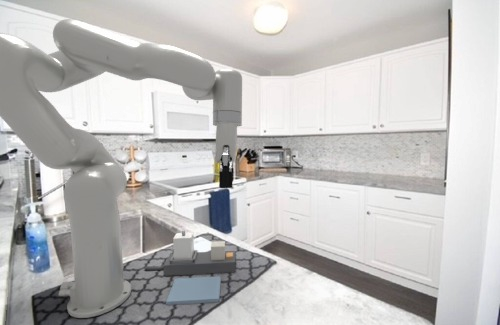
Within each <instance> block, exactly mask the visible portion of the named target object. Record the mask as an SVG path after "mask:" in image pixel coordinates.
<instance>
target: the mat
mask: <svg viewBox="0 0 500 325" xmlns="http://www.w3.org/2000/svg"><path fill="white" fill-rule="evenodd" d="M221 283H222V275H220V276H219V275H218V276H201V277H199V276H198V277H181V278H175V279H174V282H173V284H172V287H171V289H170V292H169V294H168V296H167V299H166V302H165V306H173V305H188V304H191V305H192V304H205V303H206V304H207V303H219V302H220V295H221V294H220V293H221V285H222V284H221Z"/></svg>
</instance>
